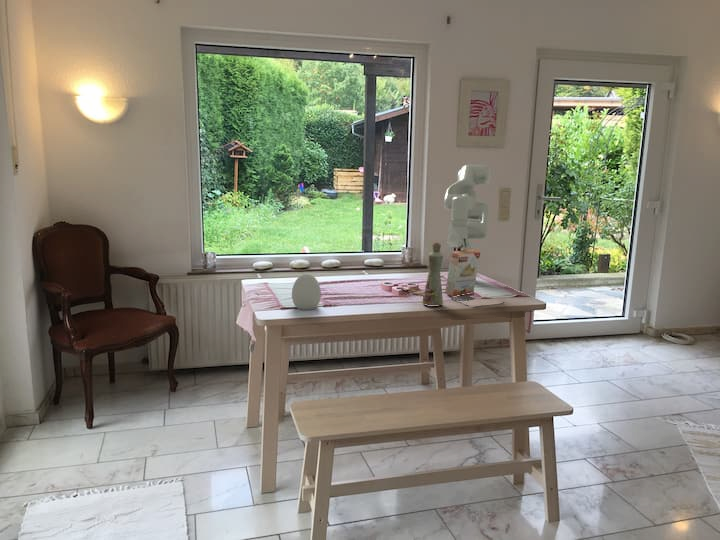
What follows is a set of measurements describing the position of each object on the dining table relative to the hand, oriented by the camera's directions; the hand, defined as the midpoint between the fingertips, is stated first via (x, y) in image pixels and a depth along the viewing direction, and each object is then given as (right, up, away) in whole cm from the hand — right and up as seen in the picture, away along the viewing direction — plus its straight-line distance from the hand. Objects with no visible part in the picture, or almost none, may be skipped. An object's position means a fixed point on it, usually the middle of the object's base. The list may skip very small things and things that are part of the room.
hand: (456, 261), depth 283 cm
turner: (-19, -15, 0) cm, 24 cm away
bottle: (-14, -20, -20) cm, 31 cm away
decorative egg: (-69, -20, -30) cm, 77 cm away
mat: (+7, -18, -11) cm, 23 cm away
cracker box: (+1, -16, 0) cm, 16 cm away
